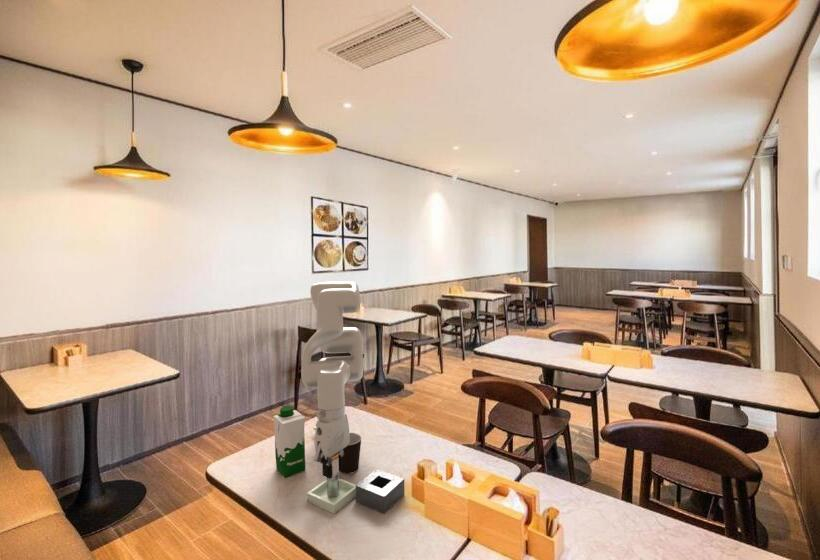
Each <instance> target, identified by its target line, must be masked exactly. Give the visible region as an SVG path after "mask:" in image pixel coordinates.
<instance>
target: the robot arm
mask: <svg viewBox="0 0 820 560" xmlns="http://www.w3.org/2000/svg"><path fill="white" fill-rule="evenodd" d="M309 291H310V298H311V302H312V305H314V308H315V310H316V332H314V334H313V335H311V337H310V338H309V339H308V340H307V342H306V343H305V345H304V347H303V351H302V354H301V369H300V371H301V374H300V375H301V381H302V384H303V386H305V387H307V388H317V390H316V391H317V394H316V395H317V414H316V418H317V419H316V423H315V426H314V427H313V430H314V431H315V433H314V434H315V436H314V449H315V453H314V457H313V461H314V462H317V463H320V464H321V465H322V476H323V477H324V478H326V479H327V478H330V479H331V478H332V464H330V463H331V456H333V455H334V454H336V453H337V452H338V454H339V473H341V471H342V457H343V455H344V450H345V448H346V446H348V444H349V442H350V434H349V433H350V427H349V420H348V419H349V418H348V414H347V412H346V404H345V402H346V400H345V397H346V396H345V385H346V383H347V382H348V383H349V382H350V383H351V382H357V381H360V380H362V378H363V375H364V358H363V357H364V355H363V353H364V352H363V336H362V332H361V330H360V329H359V328H358V327H355V326H348V327H344V314H353V313H358V311H359V310H360V308H361V294H360V290H359V286H358V284H357V282H355V281H323V282H316V283H313V284H312V285H311V286H310V290H309ZM318 348H319V349H320V351H321V352H322V353H325V354H342V353H343V354H346V353H348V354H350V355H344V356H343V355H342V356H338V355H337V356H326V357H322V358H320V359H319V360H318V361H317V360H316V361H312V356H313V354H314V352H315V351H316V350H318ZM326 457H327V460H326Z"/></svg>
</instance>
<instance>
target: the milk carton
mask: <svg viewBox="0 0 820 560" xmlns="http://www.w3.org/2000/svg"><path fill="white" fill-rule="evenodd" d="M279 412H280V413H279V414H276V415H273V422H274V423H273V424H274V445H275V446H274V448H275V449H274V450H275V452H274V455H275V466H276V470H277V471H278V472H279V473H280V474H281V476H283V478H284V479H287V478H289V477H292V476H295V475H297V474H300V473H302V472H305V471H306V448H305V447H306V444H305V441H306V440H305V424H306V423H305V421H306V417H305V416H304V415H303V414H302V413H300V412H299V411H297V410H296V409H294V408H293V406H290V405H287V406H282V407H281V408H280V410H279Z"/></svg>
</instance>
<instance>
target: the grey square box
mask: <svg viewBox="0 0 820 560" xmlns="http://www.w3.org/2000/svg"><path fill="white" fill-rule="evenodd" d="M355 485H356V497H355V503H357V504H359V505H362V506H364V507H366V508H369V509H370V510H374V511H375V512H378V513H380V514H384V515H386V514H387V513H388V512H389V511H390V510H391V509H392V508H393V507H395V505H396V504H397V503H398V502H399V501H400V500H401V499H402V498H403V497H404V496H405V478H404V477H401V476H398V475H395V474H392V473H390V472H387V471H383V470H381V469H378V468H375V470H373V471H372V472H371V473H369V474H368V475H367V476H366V477H365V478H363V479H362V480H361V481H359V482H358V483H357V484H355Z"/></svg>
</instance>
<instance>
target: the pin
mask: <svg viewBox="0 0 820 560" xmlns="http://www.w3.org/2000/svg"><path fill="white" fill-rule="evenodd" d="M325 459H326V460H327V457H325ZM330 464H332V478H331V479H330V478H327V477H326V479H327V495H328V496H329V497H336V496H338V495H339V493H340V491H339V478H340V471H339V454H338V452H337V453H336V454H334V455H333V456H331V463H330Z"/></svg>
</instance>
